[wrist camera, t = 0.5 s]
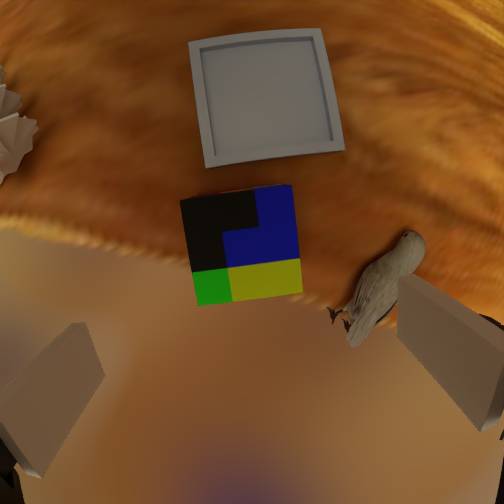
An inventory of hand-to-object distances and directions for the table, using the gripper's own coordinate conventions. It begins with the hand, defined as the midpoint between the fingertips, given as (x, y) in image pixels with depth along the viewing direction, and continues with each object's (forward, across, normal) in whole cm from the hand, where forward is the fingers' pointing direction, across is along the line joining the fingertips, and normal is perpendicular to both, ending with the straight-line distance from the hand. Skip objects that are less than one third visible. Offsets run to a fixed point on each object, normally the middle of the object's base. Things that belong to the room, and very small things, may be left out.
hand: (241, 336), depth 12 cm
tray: (+27, +5, +16) cm, 32 cm away
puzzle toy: (+27, 0, 0) cm, 27 cm away
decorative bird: (+27, +16, -8) cm, 33 cm away
